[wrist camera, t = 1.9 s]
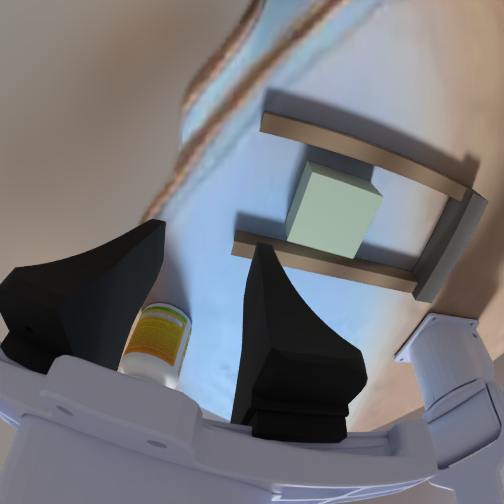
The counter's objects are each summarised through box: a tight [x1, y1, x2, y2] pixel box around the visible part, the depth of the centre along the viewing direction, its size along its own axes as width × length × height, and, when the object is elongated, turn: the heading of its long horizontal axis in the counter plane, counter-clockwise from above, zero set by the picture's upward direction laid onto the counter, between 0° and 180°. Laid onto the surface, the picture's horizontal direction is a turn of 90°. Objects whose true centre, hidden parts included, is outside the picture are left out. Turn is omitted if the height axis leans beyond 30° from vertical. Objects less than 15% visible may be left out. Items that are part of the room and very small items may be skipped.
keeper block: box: [285, 160, 383, 259], centre depth 20 cm, size 5×5×3 cm
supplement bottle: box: [120, 303, 192, 389], centre depth 24 cm, size 5×5×10 cm
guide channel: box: [231, 111, 488, 303], centre depth 20 cm, size 18×10×2 cm, turn 77°
